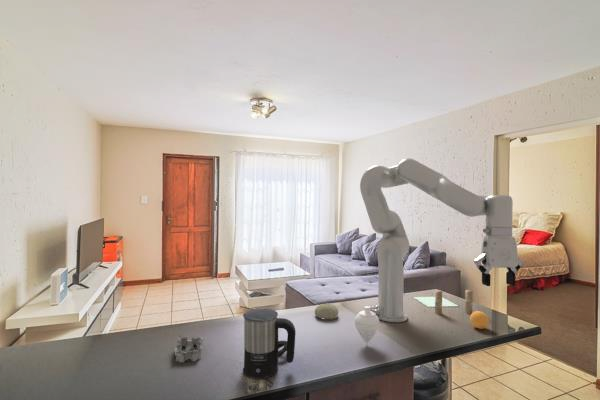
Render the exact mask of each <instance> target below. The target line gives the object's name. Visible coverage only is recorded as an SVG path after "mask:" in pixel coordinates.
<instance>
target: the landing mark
mask: <svg viewBox="0 0 600 400" xmlns="http://www.w3.org/2000/svg"><path fill="white" fill-rule="evenodd" d="M413 299H415V300H417V301H418V302H419V303H421V304H423V305H424V306H425V307H427V308H435V296H413ZM447 307H451V308H452V307H459V305H458V304H455V303H454V302H452V301H450V300H449V299H446V298H444V297H443V296H442V308H447Z"/></svg>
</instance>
